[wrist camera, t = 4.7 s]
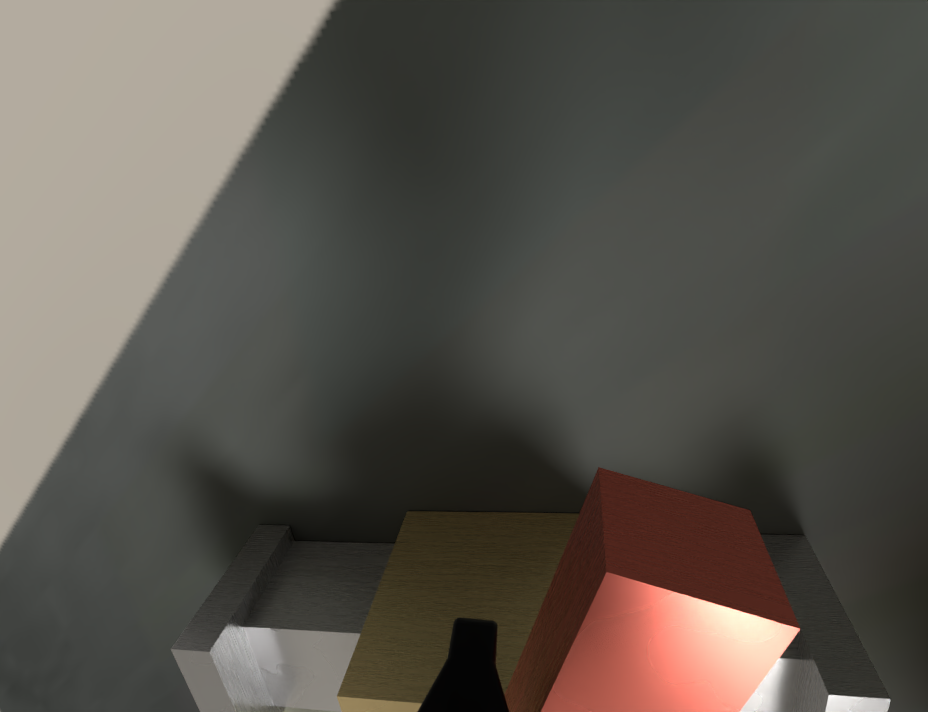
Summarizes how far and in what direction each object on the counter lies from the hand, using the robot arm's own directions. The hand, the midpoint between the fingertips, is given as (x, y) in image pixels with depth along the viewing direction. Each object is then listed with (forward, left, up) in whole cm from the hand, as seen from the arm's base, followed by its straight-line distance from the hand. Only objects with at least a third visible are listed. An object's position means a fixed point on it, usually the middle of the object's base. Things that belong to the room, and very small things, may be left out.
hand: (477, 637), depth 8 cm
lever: (-1, +4, -1) cm, 4 cm away
